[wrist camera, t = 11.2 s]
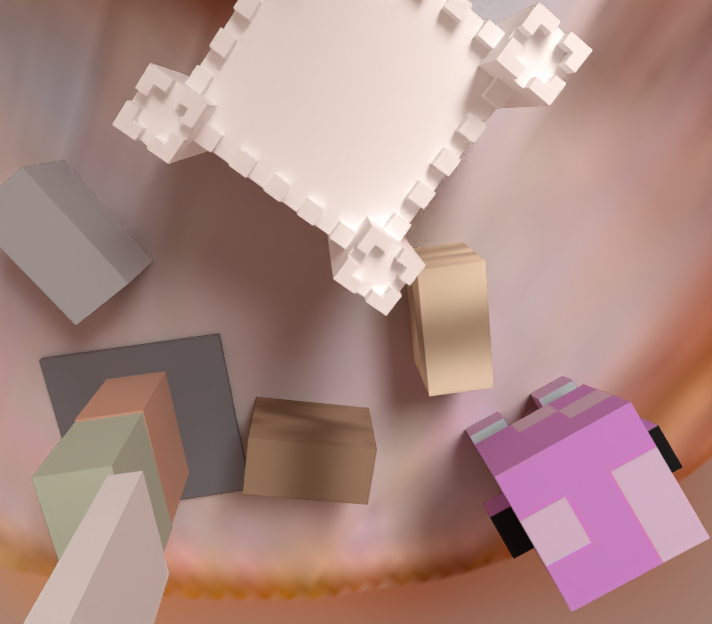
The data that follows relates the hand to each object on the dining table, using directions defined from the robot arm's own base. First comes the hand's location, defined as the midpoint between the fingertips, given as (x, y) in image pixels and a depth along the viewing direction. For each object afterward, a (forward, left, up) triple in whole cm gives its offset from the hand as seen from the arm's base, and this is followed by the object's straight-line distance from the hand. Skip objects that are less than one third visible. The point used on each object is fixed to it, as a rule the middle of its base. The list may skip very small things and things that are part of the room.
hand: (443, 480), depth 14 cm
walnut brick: (+13, -5, -29) cm, 32 cm away
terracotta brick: (+11, -16, -28) cm, 34 cm away
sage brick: (+11, -16, -22) cm, 30 cm away
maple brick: (+5, +5, -29) cm, 30 cm away
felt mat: (+11, -16, -29) cm, 35 cm away
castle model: (-9, 0, -29) cm, 30 cm away
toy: (+15, +11, -29) cm, 34 cm away
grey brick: (-3, -17, -29) cm, 34 cm away
